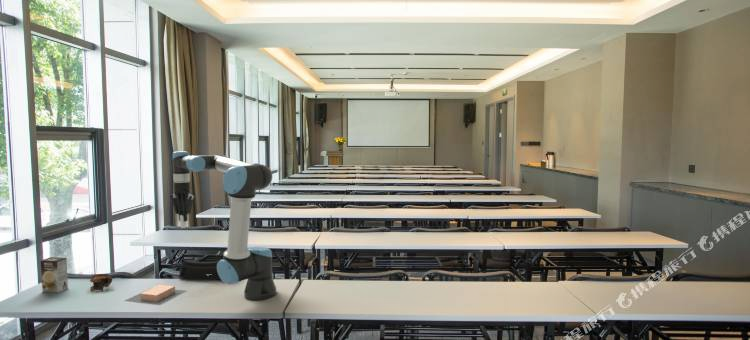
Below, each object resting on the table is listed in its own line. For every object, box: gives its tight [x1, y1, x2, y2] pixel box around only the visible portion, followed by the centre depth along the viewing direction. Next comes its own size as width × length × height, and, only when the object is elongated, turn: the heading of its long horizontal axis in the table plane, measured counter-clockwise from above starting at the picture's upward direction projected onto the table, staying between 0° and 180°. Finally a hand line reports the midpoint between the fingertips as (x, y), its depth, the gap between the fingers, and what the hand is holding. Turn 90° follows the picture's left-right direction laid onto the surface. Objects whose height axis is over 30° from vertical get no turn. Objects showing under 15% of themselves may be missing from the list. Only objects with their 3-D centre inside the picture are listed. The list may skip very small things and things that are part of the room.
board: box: [140, 284, 176, 302], centre depth 202 cm, size 3×12×9 cm
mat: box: [124, 288, 187, 306], centre depth 202 cm, size 20×18×1 cm
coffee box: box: [40, 256, 69, 294], centre depth 210 cm, size 9×6×16 cm
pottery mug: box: [89, 273, 113, 292], centre depth 214 cm, size 12×10×8 cm
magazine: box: [178, 259, 221, 281], centre depth 227 cm, size 17×3×30 cm
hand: (183, 227), depth 215 cm, fingers closed
